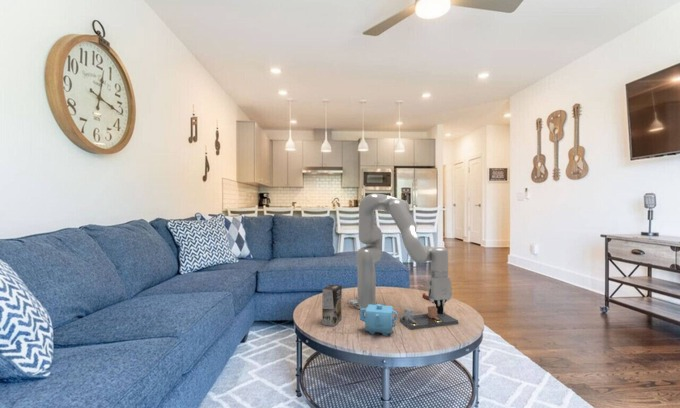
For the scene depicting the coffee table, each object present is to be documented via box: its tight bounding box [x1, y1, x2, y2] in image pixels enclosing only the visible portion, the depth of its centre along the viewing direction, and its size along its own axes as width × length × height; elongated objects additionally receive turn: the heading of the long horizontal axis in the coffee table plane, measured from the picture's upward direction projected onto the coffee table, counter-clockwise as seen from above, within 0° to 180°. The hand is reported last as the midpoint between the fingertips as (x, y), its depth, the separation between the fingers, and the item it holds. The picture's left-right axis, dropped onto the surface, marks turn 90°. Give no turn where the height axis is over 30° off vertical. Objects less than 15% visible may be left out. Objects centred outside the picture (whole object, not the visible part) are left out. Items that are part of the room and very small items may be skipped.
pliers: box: [422, 293, 435, 304], centre depth 173 cm, size 12×20×3 cm, turn 177°
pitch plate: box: [399, 307, 459, 331], centre depth 142 cm, size 24×10×6 cm, turn 106°
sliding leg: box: [427, 305, 439, 320], centre depth 143 cm, size 3×6×4 cm, turn 16°
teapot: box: [359, 303, 398, 337], centre depth 132 cm, size 16×18×11 cm
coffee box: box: [321, 284, 343, 327], centre depth 143 cm, size 9×6×16 cm
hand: (439, 313), depth 145 cm, fingers closed
